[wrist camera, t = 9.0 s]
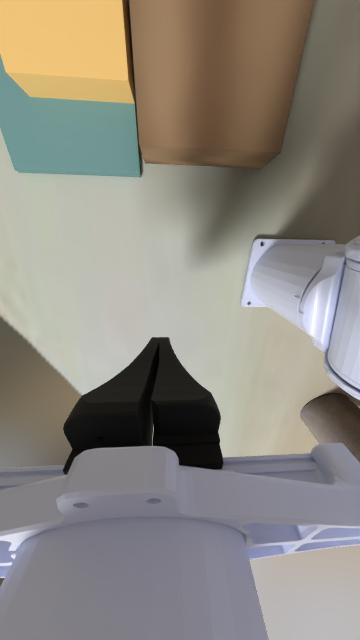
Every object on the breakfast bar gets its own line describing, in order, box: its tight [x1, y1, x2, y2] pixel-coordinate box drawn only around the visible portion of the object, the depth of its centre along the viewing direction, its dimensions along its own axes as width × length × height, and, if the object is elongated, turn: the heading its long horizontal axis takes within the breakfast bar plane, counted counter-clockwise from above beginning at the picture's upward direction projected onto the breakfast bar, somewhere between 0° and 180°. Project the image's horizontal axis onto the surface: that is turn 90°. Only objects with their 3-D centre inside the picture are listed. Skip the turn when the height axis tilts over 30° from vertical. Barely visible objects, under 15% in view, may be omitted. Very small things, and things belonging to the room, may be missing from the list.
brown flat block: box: [129, 0, 314, 168], centre depth 11 cm, size 11×12×3 cm
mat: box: [0, 0, 141, 177], centre depth 11 cm, size 11×14×1 cm
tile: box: [0, 0, 135, 104], centre depth 10 cm, size 8×6×2 cm
